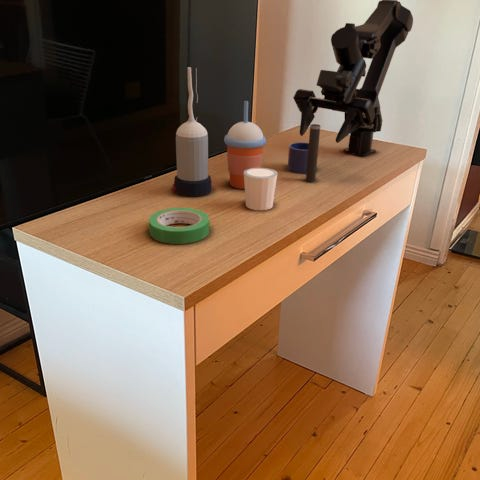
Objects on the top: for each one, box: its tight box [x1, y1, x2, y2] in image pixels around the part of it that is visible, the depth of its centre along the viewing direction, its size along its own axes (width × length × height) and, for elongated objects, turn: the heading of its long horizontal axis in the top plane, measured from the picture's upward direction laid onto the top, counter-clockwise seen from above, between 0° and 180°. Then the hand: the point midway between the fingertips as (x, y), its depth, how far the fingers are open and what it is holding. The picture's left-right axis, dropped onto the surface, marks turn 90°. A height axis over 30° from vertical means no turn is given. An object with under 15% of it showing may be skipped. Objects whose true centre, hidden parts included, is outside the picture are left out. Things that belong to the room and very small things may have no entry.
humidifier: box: [172, 66, 212, 198], centre depth 120 cm, size 8×8×25 cm
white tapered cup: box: [244, 167, 278, 211], centre depth 118 cm, size 7×7×7 cm
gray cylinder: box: [305, 123, 321, 183], centre depth 131 cm, size 2×2×12 cm
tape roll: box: [148, 207, 210, 245], centre depth 107 cm, size 11×11×3 cm
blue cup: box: [287, 141, 309, 174], centre depth 140 cm, size 7×7×6 cm
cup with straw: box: [223, 100, 267, 190], centre depth 126 cm, size 9×9×18 cm
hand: (318, 138), depth 130 cm, fingers open, 9 cm apart
